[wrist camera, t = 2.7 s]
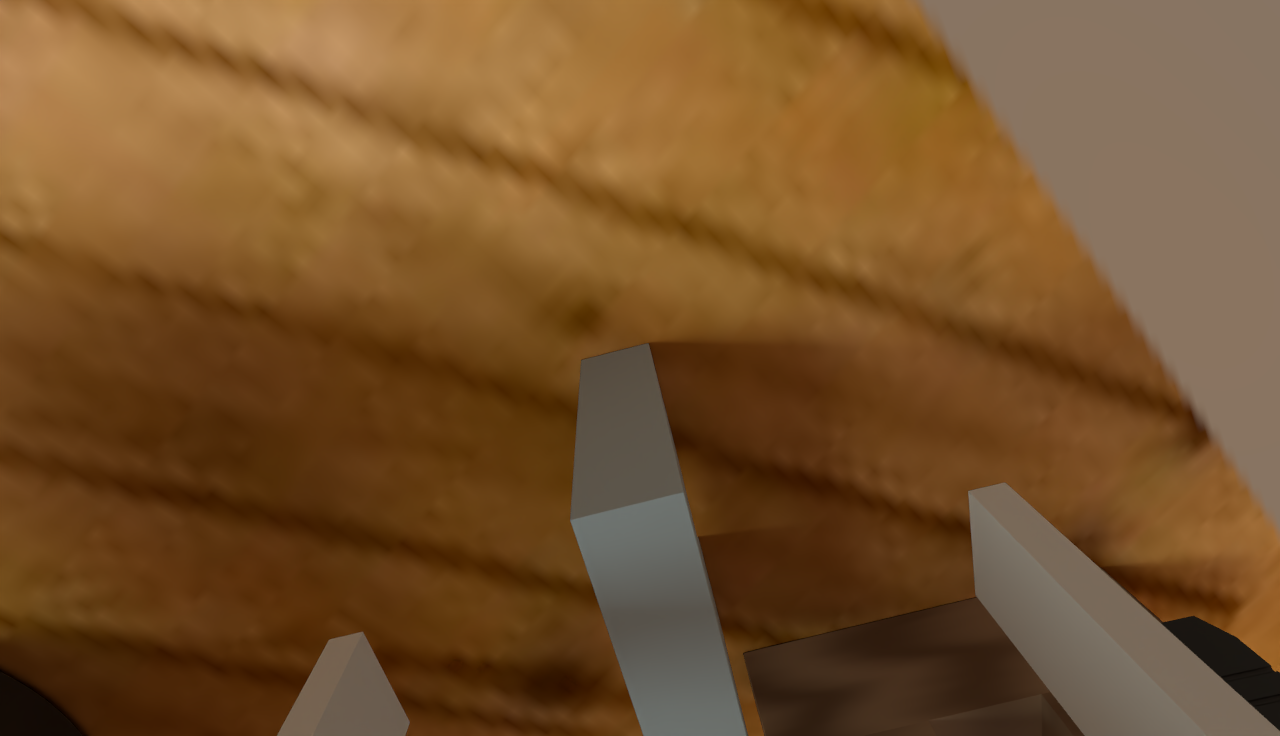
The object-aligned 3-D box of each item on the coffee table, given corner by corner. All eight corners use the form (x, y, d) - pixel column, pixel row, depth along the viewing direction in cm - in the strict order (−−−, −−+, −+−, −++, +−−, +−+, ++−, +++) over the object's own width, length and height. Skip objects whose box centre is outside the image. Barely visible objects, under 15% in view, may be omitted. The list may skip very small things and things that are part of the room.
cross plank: (662, 633, 28) (696, 891, 18) (581, 360, 23) (570, 520, 14) (719, 619, 28) (781, 871, 18) (648, 342, 23) (683, 492, 14)
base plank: (753, 694, 29) (825, 960, 20) (743, 653, 28) (814, 912, 19) (1099, 611, 29) (1340, 845, 19) (1101, 567, 28) (1354, 790, 19)
